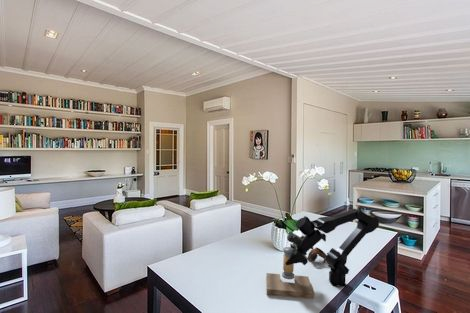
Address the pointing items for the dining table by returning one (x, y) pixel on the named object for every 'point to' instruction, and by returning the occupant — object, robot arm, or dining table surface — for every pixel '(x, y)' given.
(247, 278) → the dining table surface
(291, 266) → the bobbin
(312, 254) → the pottery mug
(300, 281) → the notched board
